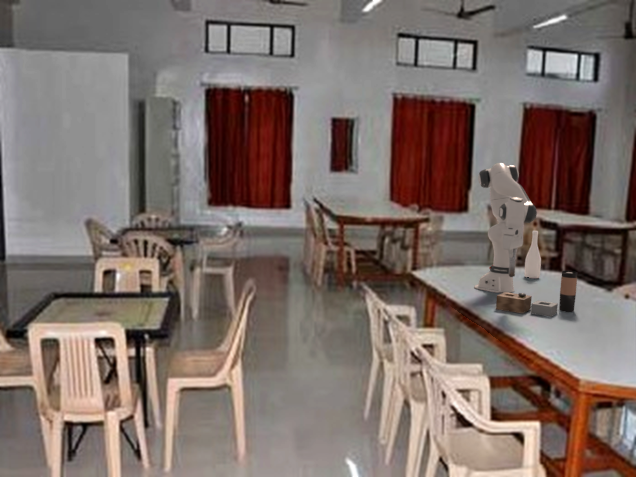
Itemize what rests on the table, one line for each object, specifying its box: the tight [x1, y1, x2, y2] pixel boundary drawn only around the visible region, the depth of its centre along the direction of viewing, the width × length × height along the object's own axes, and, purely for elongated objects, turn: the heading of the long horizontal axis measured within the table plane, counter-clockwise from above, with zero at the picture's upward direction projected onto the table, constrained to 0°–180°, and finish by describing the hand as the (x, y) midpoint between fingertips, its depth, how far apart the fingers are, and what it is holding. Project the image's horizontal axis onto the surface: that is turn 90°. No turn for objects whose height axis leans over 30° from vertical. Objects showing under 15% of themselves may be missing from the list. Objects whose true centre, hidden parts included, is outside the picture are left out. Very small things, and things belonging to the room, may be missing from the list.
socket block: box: [495, 292, 532, 314], centre depth 361 cm, size 14×12×7 cm
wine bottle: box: [523, 230, 542, 279], centre depth 452 cm, size 10×10×30 cm
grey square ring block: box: [530, 300, 559, 318], centre depth 355 cm, size 10×10×5 cm
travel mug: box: [558, 270, 578, 313], centre depth 362 cm, size 8×8×20 cm
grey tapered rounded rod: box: [509, 249, 517, 277], centre depth 360 cm, size 3×3×14 cm
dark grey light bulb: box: [517, 292, 527, 298], centre depth 359 cm, size 4×4×8 cm
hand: (512, 256), depth 360 cm, fingers closed on grey tapered rounded rod, 3 cm apart
